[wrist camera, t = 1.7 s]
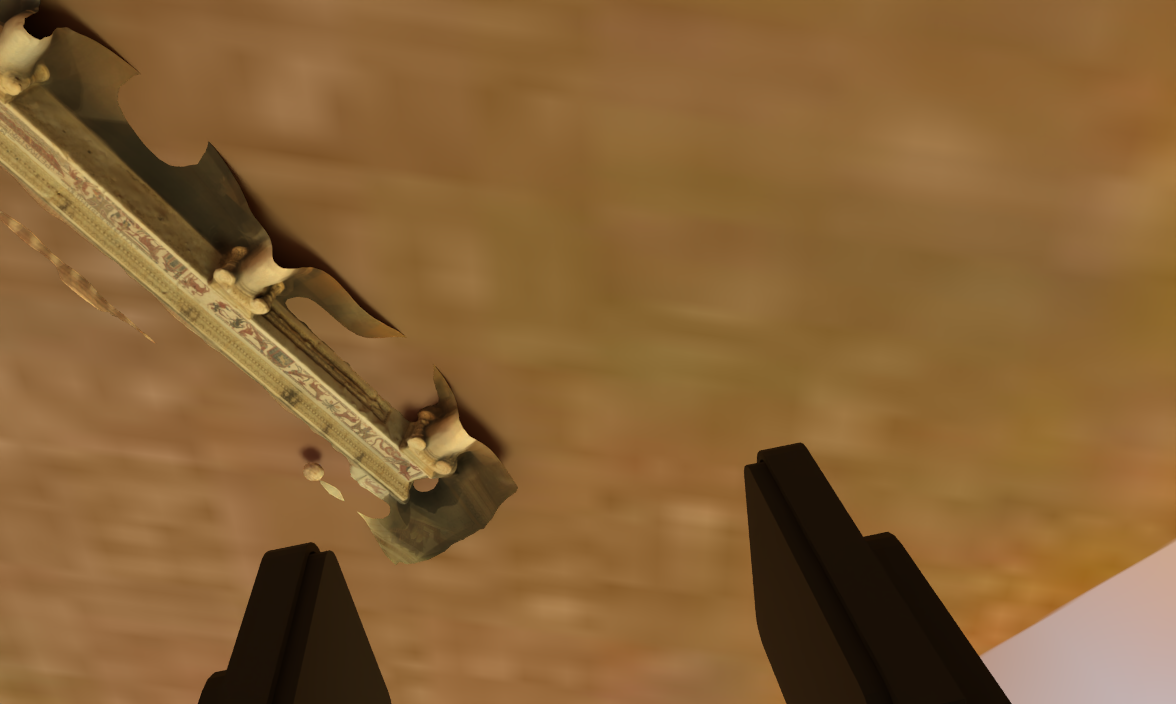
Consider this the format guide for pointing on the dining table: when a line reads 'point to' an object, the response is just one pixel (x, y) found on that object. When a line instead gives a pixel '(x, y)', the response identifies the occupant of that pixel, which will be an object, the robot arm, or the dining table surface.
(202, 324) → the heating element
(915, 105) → the dining table surface
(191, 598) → the dining table surface
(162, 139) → the dining table surface
